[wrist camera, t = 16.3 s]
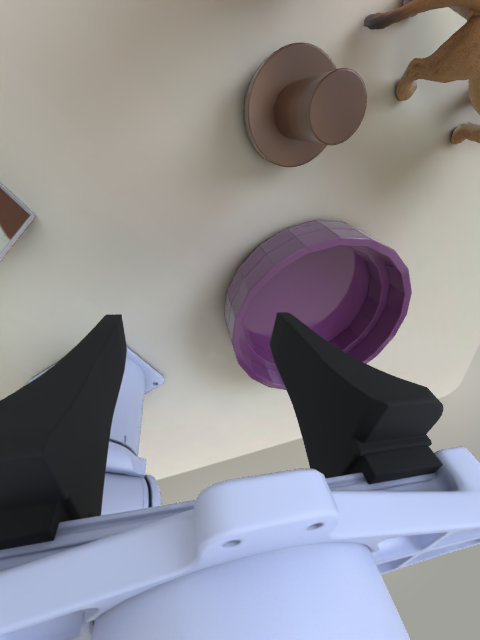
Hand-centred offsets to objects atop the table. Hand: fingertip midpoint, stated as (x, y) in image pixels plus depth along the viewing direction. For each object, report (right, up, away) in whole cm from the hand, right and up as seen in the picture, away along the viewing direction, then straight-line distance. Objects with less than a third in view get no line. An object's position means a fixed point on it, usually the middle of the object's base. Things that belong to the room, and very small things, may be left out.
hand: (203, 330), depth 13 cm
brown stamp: (+5, +14, +4) cm, 15 cm away
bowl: (+8, +2, +13) cm, 16 cm away
